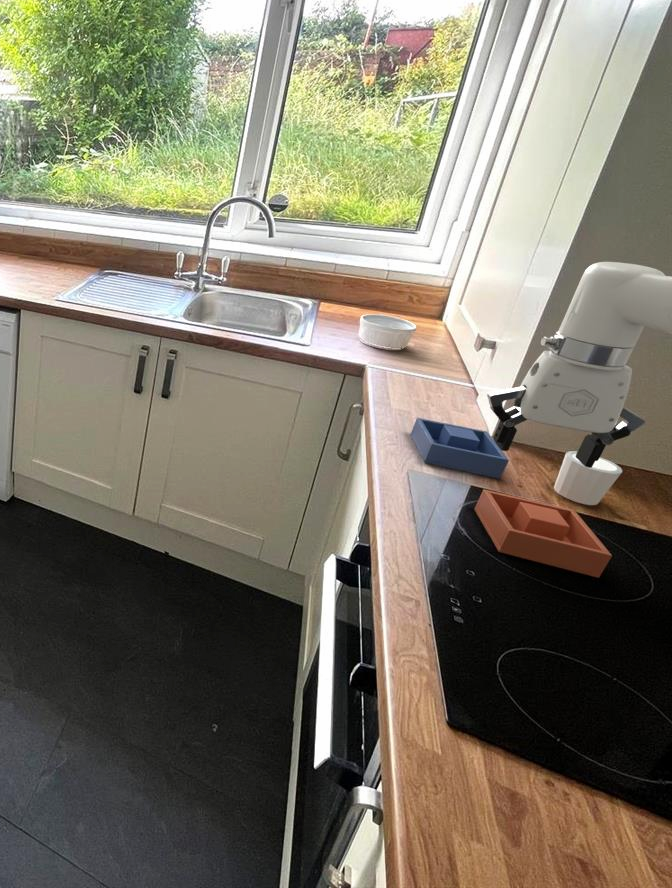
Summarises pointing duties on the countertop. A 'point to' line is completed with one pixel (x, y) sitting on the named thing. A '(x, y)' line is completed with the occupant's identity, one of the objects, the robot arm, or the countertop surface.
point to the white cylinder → (585, 479)
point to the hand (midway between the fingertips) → (541, 454)
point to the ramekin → (385, 331)
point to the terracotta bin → (572, 553)
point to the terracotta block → (539, 521)
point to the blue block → (458, 438)
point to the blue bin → (458, 450)
